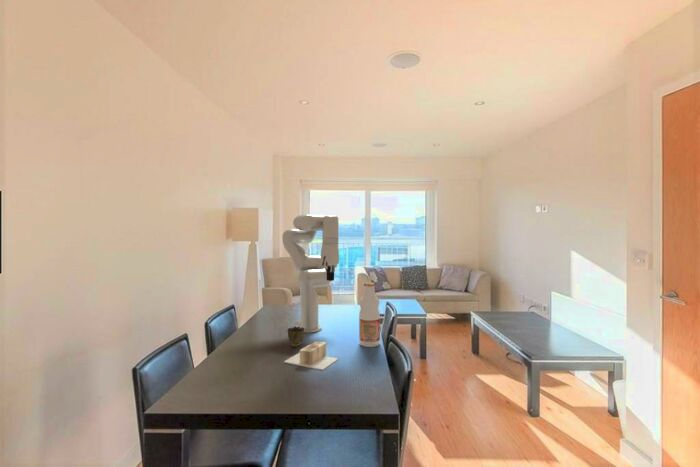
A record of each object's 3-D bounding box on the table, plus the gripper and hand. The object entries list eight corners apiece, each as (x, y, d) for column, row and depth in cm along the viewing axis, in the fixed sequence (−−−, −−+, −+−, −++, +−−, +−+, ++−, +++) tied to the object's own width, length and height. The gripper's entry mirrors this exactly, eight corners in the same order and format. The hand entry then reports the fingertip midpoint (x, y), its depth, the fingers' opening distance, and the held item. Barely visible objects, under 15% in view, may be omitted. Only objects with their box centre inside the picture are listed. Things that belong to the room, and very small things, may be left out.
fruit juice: (355, 343, 158) (355, 282, 158) (371, 339, 163) (371, 281, 163) (367, 349, 150) (367, 285, 150) (384, 345, 155) (383, 283, 155)
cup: (284, 347, 153) (284, 329, 153) (294, 342, 159) (294, 325, 159) (297, 350, 149) (297, 331, 149) (307, 345, 156) (307, 327, 156)
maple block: (316, 353, 144) (299, 362, 134) (315, 341, 144) (299, 349, 134) (326, 354, 142) (310, 364, 132) (326, 342, 142) (310, 351, 132)
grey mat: (283, 362, 135) (283, 361, 135) (301, 352, 146) (301, 351, 146) (322, 370, 127) (322, 369, 127) (338, 359, 138) (338, 358, 138)
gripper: (331, 240, 169) (331, 277, 169) (315, 241, 156) (315, 282, 156) (344, 241, 166) (344, 278, 166) (329, 242, 152) (329, 283, 153)
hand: (330, 280), depth 161 cm, fingers closed
